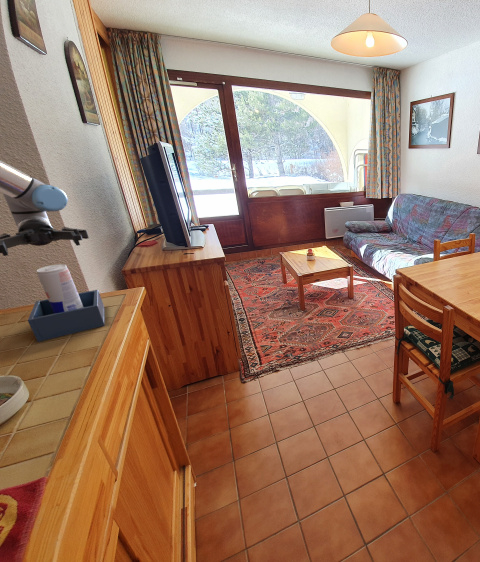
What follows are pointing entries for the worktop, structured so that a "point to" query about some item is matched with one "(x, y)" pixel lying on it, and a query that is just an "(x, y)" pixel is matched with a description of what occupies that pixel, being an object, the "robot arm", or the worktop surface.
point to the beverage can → (59, 288)
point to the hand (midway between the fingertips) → (42, 245)
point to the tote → (67, 317)
